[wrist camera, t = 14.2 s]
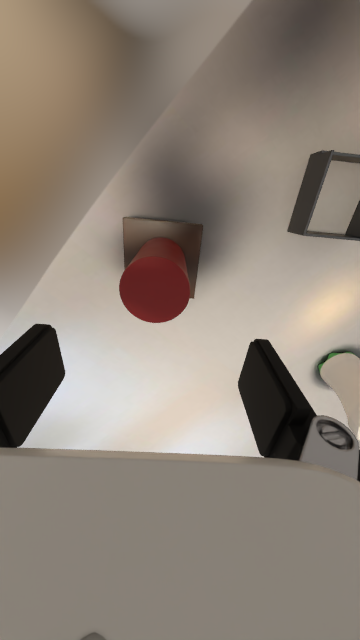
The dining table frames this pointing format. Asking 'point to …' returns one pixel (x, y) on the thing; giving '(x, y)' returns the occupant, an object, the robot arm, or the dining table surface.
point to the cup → (345, 384)
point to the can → (156, 282)
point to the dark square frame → (310, 194)
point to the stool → (179, 232)
